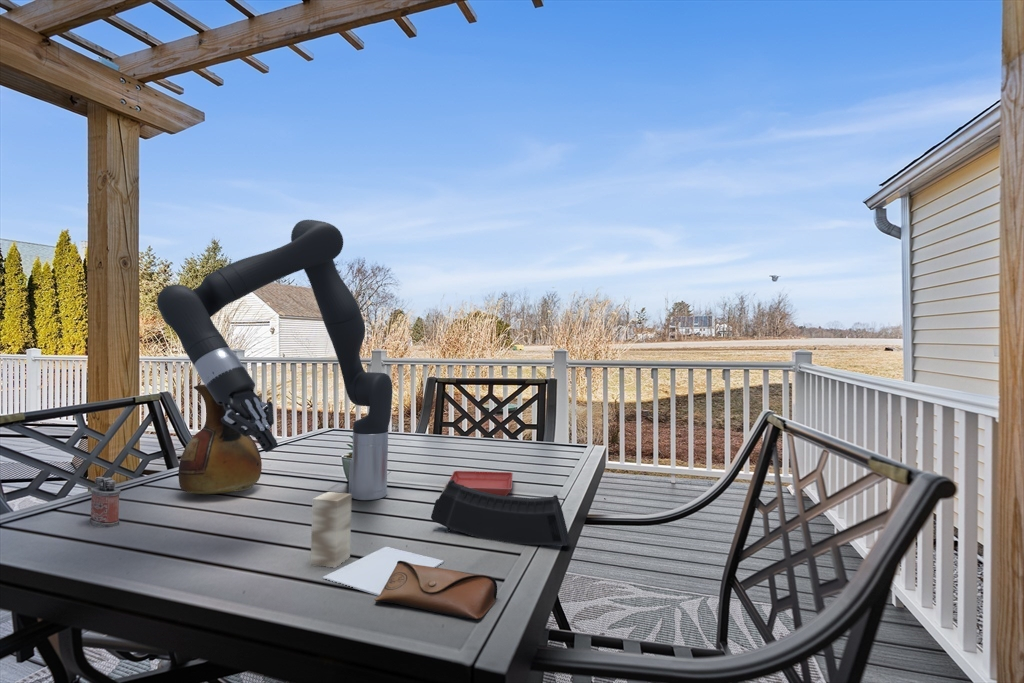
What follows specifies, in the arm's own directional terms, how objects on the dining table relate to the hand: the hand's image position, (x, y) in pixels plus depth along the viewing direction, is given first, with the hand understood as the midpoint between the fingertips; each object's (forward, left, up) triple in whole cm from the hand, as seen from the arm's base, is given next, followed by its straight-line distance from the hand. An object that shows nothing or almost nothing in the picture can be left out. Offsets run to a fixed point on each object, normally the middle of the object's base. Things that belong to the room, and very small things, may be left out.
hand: (272, 449), depth 100 cm
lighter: (-44, -8, -20) cm, 49 cm away
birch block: (+14, +2, -20) cm, 24 cm away
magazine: (+35, +28, -20) cm, 49 cm away
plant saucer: (+12, +60, -20) cm, 65 cm away
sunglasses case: (+40, -1, -20) cm, 45 cm away
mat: (+26, +4, -20) cm, 33 cm away
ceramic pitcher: (-46, +20, -20) cm, 54 cm away
